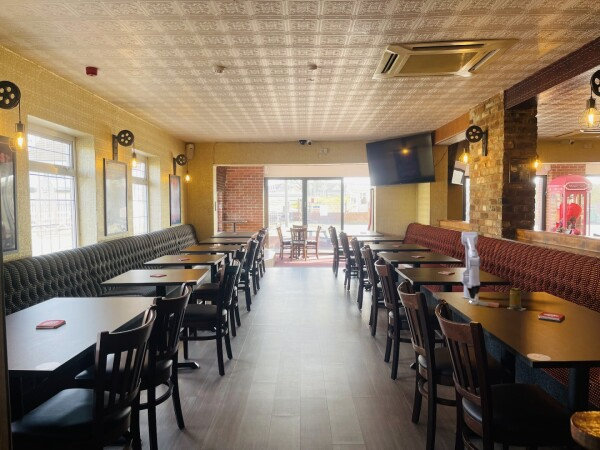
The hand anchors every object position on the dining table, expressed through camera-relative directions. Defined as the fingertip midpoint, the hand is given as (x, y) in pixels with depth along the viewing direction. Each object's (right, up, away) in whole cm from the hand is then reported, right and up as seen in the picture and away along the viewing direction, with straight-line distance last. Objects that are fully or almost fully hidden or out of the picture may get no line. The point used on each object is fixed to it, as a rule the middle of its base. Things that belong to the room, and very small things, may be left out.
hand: (473, 297), depth 272 cm
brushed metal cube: (0, -1, 0) cm, 1 cm away
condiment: (+20, -4, -14) cm, 25 cm away
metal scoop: (+4, -4, -4) cm, 7 cm away
